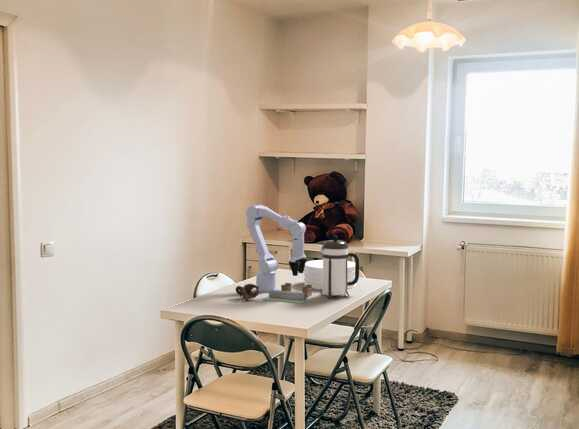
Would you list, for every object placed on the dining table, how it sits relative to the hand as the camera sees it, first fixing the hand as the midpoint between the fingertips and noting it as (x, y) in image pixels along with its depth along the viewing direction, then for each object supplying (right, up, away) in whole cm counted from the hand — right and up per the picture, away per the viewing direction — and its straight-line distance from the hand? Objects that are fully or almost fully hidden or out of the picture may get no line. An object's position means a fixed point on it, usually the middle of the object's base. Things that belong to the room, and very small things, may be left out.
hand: (298, 274), depth 311 cm
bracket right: (+4, -10, -3) cm, 12 cm away
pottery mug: (-24, -11, -10) cm, 28 cm away
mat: (-6, -11, -12) cm, 17 cm away
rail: (-5, -9, -11) cm, 15 cm away
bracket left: (-6, -10, +1) cm, 12 cm away
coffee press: (+19, -10, -3) cm, 22 cm away
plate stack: (+18, -8, +25) cm, 32 cm away
